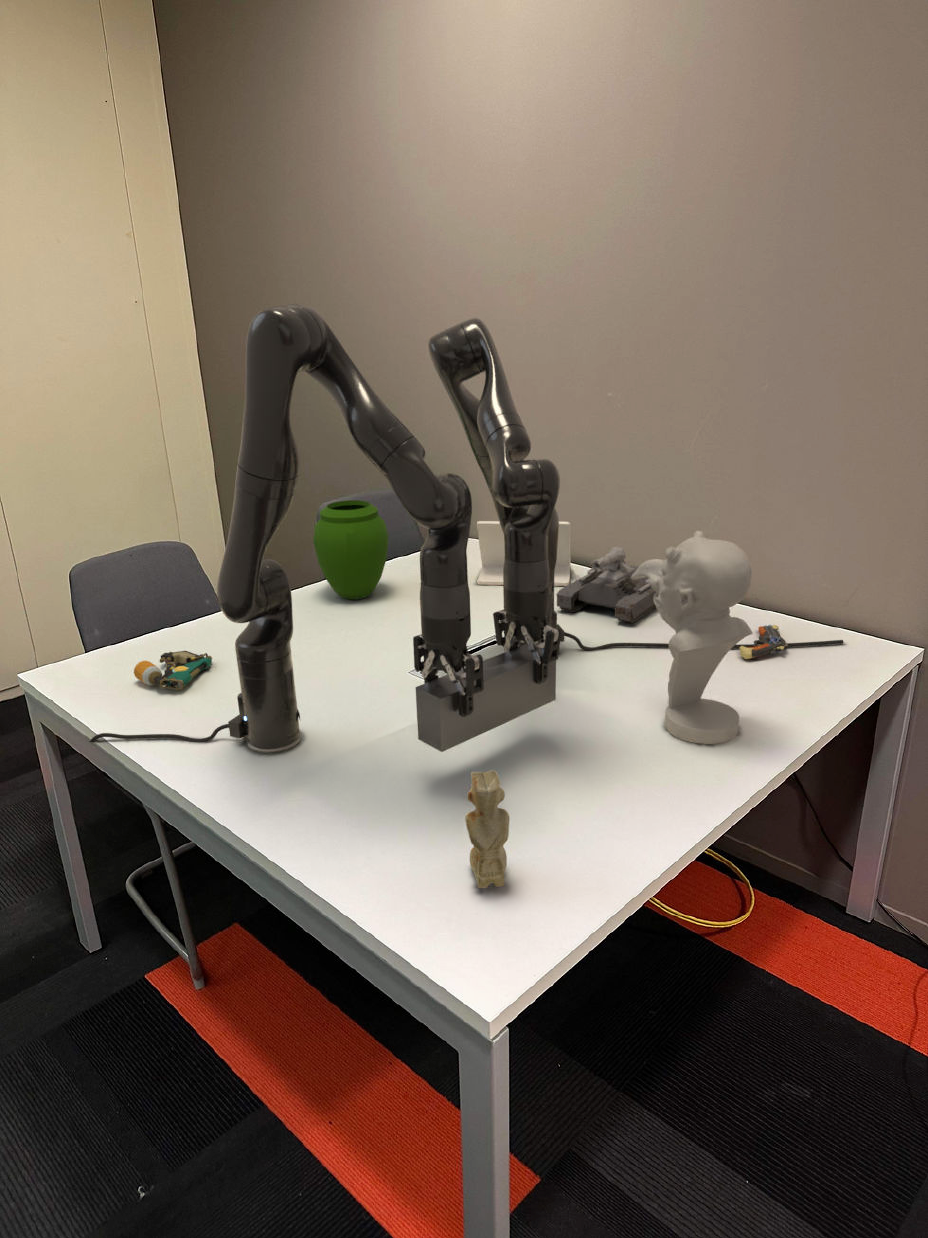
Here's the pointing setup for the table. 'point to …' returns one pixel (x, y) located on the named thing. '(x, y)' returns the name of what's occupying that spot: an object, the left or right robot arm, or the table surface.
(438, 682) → the bar
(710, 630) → the bust sculpture
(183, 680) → the spray gun
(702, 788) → the table surface
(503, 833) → the sculpture
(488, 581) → the tablet stand
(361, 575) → the vase
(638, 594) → the toy
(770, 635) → the toy gun
